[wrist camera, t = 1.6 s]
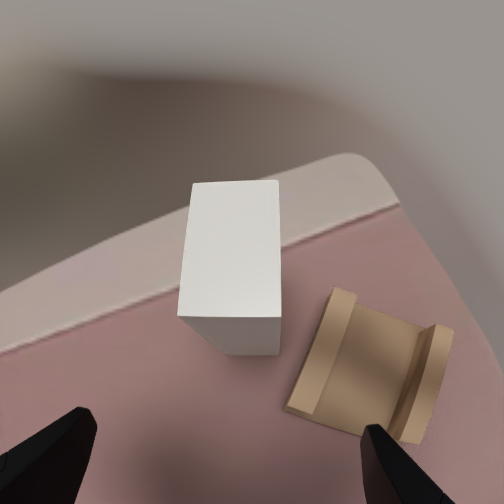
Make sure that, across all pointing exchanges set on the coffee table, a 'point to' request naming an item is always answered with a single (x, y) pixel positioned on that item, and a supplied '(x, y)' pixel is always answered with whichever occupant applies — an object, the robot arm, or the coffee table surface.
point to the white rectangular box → (233, 266)
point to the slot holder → (370, 371)
